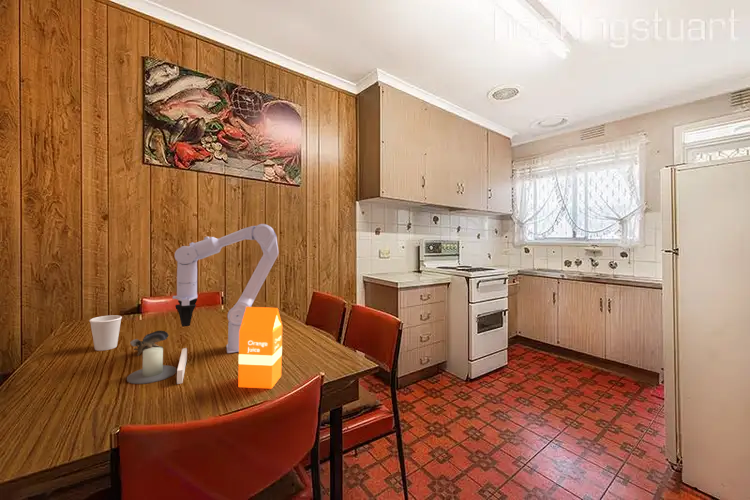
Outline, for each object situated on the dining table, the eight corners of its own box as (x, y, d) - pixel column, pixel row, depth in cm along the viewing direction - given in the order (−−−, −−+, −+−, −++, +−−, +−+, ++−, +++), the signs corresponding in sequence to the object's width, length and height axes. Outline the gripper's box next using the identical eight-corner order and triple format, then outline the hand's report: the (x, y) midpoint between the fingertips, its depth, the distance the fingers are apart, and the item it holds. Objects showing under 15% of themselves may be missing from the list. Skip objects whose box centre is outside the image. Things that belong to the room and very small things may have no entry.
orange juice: (250, 374, 88) (252, 303, 87) (281, 375, 87) (283, 305, 87) (237, 387, 80) (238, 310, 79) (271, 388, 80) (273, 311, 79)
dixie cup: (126, 342, 110) (126, 314, 110) (115, 350, 102) (115, 320, 102) (97, 344, 108) (97, 315, 107) (83, 353, 100) (83, 322, 99)
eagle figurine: (154, 353, 98) (174, 339, 107) (139, 335, 97) (161, 322, 106) (136, 364, 99) (158, 349, 108) (122, 346, 98) (145, 333, 107)
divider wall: (186, 359, 97) (187, 348, 97) (182, 383, 81) (182, 369, 81) (182, 359, 96) (182, 348, 96) (176, 384, 81) (177, 370, 80)
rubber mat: (177, 364, 93) (177, 363, 93) (174, 379, 83) (174, 377, 83) (131, 370, 88) (131, 369, 88) (122, 387, 78) (122, 385, 78)
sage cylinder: (163, 368, 89) (164, 346, 88) (161, 375, 85) (161, 351, 84) (144, 371, 86) (144, 348, 86) (141, 378, 82) (141, 353, 82)
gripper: (175, 280, 108) (174, 319, 108) (170, 286, 95) (169, 330, 95) (198, 279, 111) (197, 317, 111) (196, 285, 98) (196, 327, 99)
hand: (186, 323), depth 104 cm, fingers open, 7 cm apart
